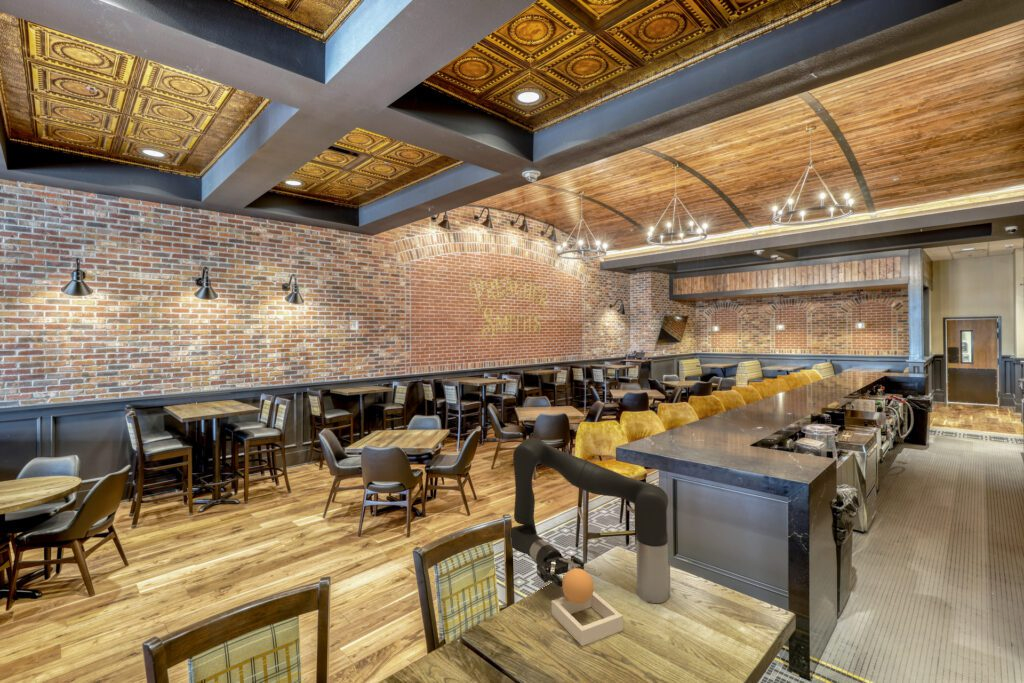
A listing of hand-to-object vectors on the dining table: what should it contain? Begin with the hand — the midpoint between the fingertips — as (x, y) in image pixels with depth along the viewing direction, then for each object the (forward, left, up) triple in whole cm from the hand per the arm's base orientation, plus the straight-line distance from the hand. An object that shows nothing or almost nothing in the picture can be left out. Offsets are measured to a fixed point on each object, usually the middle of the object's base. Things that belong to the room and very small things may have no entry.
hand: (573, 580), depth 132 cm
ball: (0, +2, -1) cm, 2 cm away
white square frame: (0, +6, -9) cm, 11 cm away
